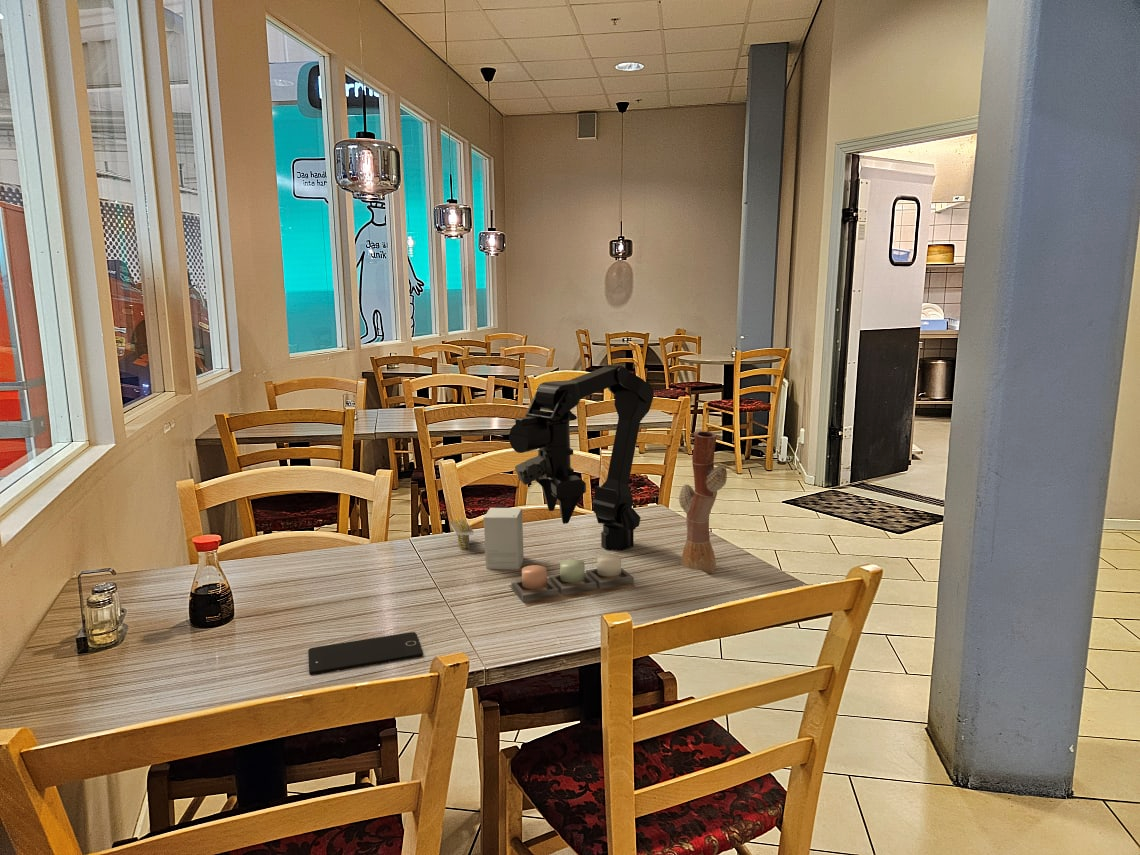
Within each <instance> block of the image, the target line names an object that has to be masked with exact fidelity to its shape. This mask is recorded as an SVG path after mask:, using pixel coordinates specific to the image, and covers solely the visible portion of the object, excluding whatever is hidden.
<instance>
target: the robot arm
mask: <svg viewBox="0 0 1140 855" xmlns="http://www.w3.org/2000/svg"><path fill="white" fill-rule="evenodd" d="M606 389H607V390H608V391H609V392H610V393H611V394H612V395H613V396H614V409H615V411H616V414H617V417H618V418H617V424H616V429H615V435H614V439H613V444H612V451H611V454H610V455H611V456H610V462H609V467H608V471H607V478H606V480H605V481H604V482H603V483H602V485H601V486H598V485H597V486H596V487H595V489H594V498H593V499H592V503H591V504H593V505H592V506H593V507H592V510H593V513H594V514H595V518H596V521H597V523H598V524H601V525H603V526H602V531H601V534H600V536H601V537H600V538H601V539H600V540H601V545H600V547H601V548H602V549H604V551H626V550H629V549H631V548H633V547H634V546H635V544H634V530H636V529H637V528H638V527H639V526H640V522H641V516H640V515H639V514H638V513H637V512H636V510H635V509H634V508H633V502H634V501H633V500H634V497H633V494H632V490H631V488H630V477H631V472H632V468H633V467H632V466H633V462H634V458H635V452H636V445H637V441H638V437H639V436H638V435H639V430H640V424H641V422H642V420H643V419H644V418H645V416H647V414H648V413H649V412H650V410H651V406H652V403H653V400H654V397H655V396H654V395H655V391H654V389H653V388H652V384H650V383H649V382H648V381H645V379H643V378H642V377H640V376H638V375H636V374H634V372H630V370H628V369H627V367H625V366H623V365H619V364H606V365H603V366H602V367H601V368H598V369H595V370H592V371H590V372H587V373H585V374H582V375H579V376H577V377H574V378H571V379H567V380H553V381H546V382H545V381H544V382H541V383H540V384H539V385H538V386H537V390H536V392H535V393H534V396H533V398H532V400H531V403H530V405H529V406H528V409H527V411H526V413H525V417H517V418H515V421H514V423H515V424H513V426H511V428H510V430H509V433H508V440H509V444H510V446H511V448H512V449H513V451H515V452H516V453H518V454H523V453H528V452H530V451H534V450H537V456H534V457H531V458H529V459H527V460H525V461H523V462H521V463H519V464H517V465H515V466H514V470H515V471H516V474H517V476H518V479H519V481H520V482H521V483H522V484H523V485H524V486H526V485H529V484H532V483H533V482H534V481H535V482H537V483H538V484H539V486H541V489H542V492H543V496H544V499H545V503H546V506H547V508H548V511H549V512H553V511H555V509H556V505H557V502H558V505H559V511H560V516H561V521H562V524H563V525H566V524H569V522H570V520H571V518H572V516H573V514H574V512H575V509H576V507H577V505H578V503H579V501H580V499H581V497H582V496H584V494H585V493H587V483H586V481H584V480H583V479H582V478H580V477H579V476H578V475H576V474H575V471H574V470H575V469H574V468H573V467H572V466H571V456H573V455H574V449H572V448H571V435H570V433H571V431H570V430H571V428H570V421H575V420H577V419H578V416H577V415H576V414H574V413H573V412H572V411H571V410H572V409H574V408H575V407H577V406H578V405H579V403H580V401H581V400H582V399H584V398H586V397H589V396H591V395H593V394H597V393H599V392H602V391H604V390H606Z"/></svg>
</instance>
